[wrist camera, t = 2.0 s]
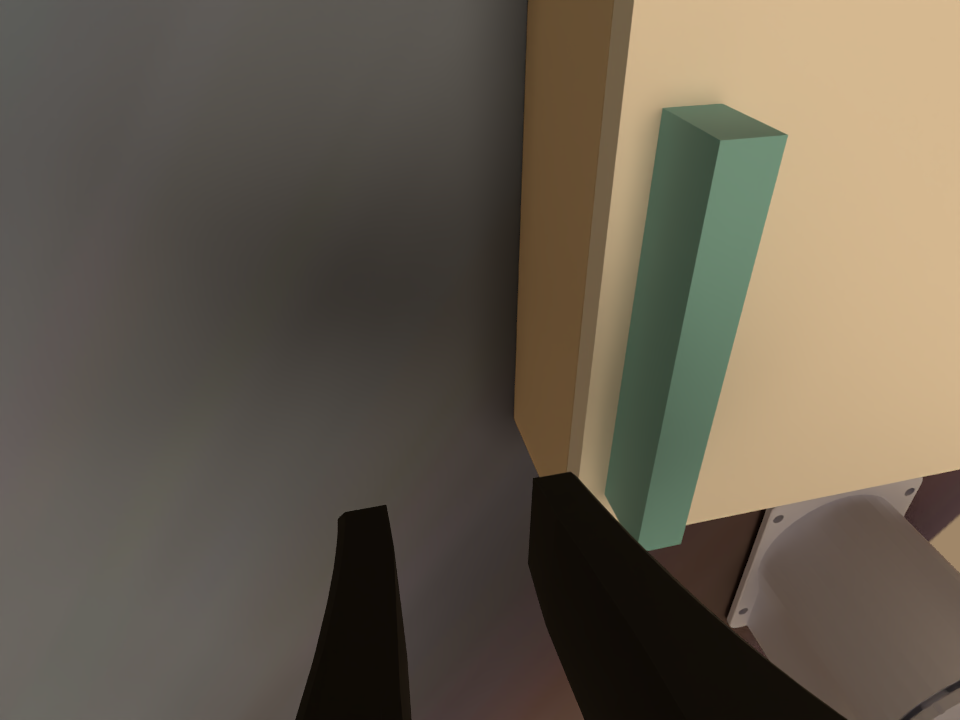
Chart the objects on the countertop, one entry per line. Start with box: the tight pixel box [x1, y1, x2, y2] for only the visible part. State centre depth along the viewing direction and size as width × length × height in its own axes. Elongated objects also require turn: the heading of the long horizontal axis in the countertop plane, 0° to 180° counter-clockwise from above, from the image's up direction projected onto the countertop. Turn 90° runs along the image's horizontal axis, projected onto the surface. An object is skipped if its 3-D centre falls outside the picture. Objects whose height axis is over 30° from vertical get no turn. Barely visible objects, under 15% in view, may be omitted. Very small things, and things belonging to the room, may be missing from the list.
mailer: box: [514, 0, 614, 477], centre depth 19 cm, size 14×20×5 cm
